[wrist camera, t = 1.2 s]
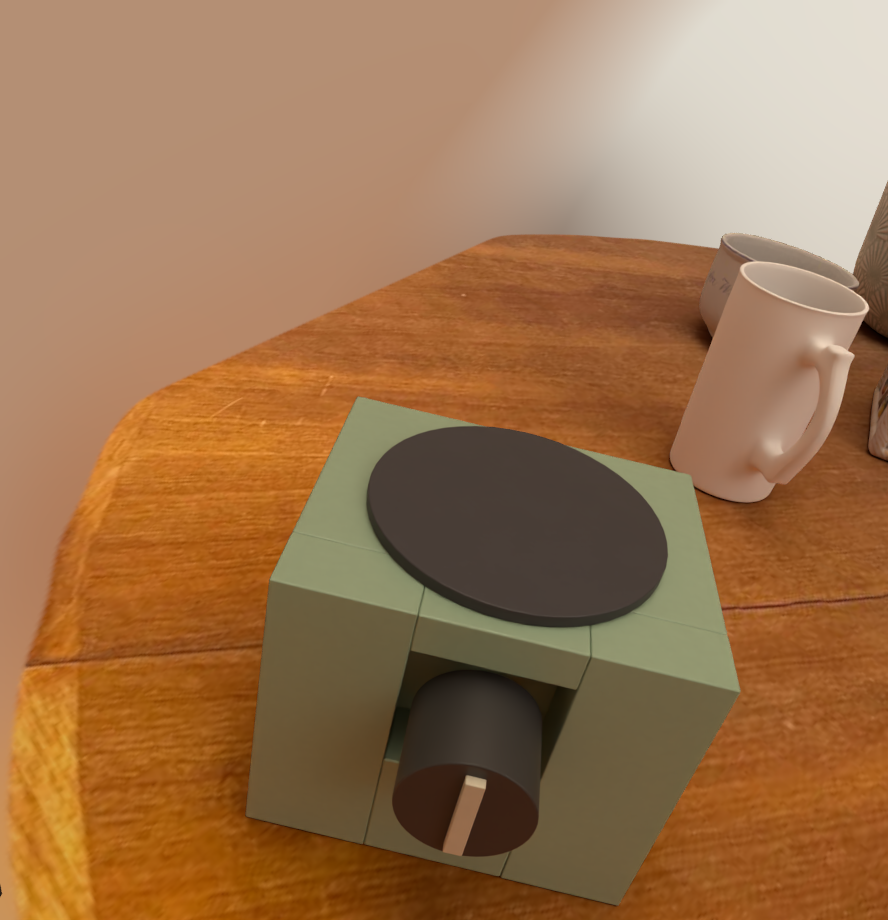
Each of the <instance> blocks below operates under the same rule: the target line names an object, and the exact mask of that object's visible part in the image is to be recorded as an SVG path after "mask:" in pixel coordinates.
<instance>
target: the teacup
mask: <svg viewBox="0 0 888 920" xmlns="http://www.w3.org/2000/svg"><path fill="white" fill-rule="evenodd" d="M755 261H762V262H772V263H779V264H784V265H788V266H792V267H796V268H800V269H803V270H807V271H810V272H813V273H816V274H818V275H821V276H824V277H826V278H829V279H831V280H833V281H835V282H837V283H840V284H842V285H844V286H845V287H847V288H849V289H851V290H852V291H855V290H856V289H857V288H858V287H859V281H858V280H857V278H856V277H855V276H854V275H852V274H851V273H850V272H848V271H847V270H845V269H844V268H842V267H840V266H838V265H837V264H834V263H832V262H830V261H828V260H825V259H824V258H822V257H819V256H817V255H814V254H811V253H809V252H807V251H804V250H802V249H799V248H796V247H793V246H790V245H787V244H784V243H781V242H777V241H774V240H771V239H766V238H762V237H759V236H755V235H748V234H741V233H730V234H725V235H724V236H722V238H721V245H720V248H719V250H718V252H717V254H716V257H715V259H714V261H713V264H712V266H711V269H710V271H709V274H708V276H707V279H706V281H705V284H704V287H703V290H702V293H701V297H700V313H701V316H702V318H703V320H704V322H705V323H706V325H707V326H708V331H709V333H710V335H711V336H712V337H714V334H715V331H716V329H717V326H718V324H719V321H720V318H721V316H722V313H723V310H724V308H725V305H726V302H727V300H728V297H729V295H730V293H731V290H732V288H733V286H734V283H735V281H736V278H737V276H738V273H739V270H740V267H741V265H743V264H745V263H748V262H755Z"/></svg>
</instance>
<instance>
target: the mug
mask: <svg viewBox="0 0 888 920" xmlns="http://www.w3.org/2000/svg"><path fill="white" fill-rule="evenodd" d="M868 311H869V306H868V304H867V302H866V301H865V300H864V299H863V298H862V297H861V296H860V295H858V294H857V293H855V292H854V291H852V290H851V289H849V288H847V287H845V286H844V285H842V284H840V283H837V282H835V281H833V280H831V279H829V278H826V277H824V276H821V275H818V274H816V273H813V272H810V271H807V270H803V269H800V268H796V267H792V266H788V265H784V264H779V263H772V262H762V261H755V262H748V263H745V264H743V265H741V267H740V270H739V273H738V276H737V278H736V281H735V283H734V286H733V288H732V290H731V293H730V295H729V297H728V300H727V302H726V305H725V308H724V310H723V313H722V316H721V318H720V321H719V324H718V326H717V329H716V331H715V334H714V337H713V339H712V342H711V345H710V347H709V350H708V353H707V355H706V358H705V361H704V363H703V366H702V369H701V371H700V374H699V376H698V379H697V382H696V384H695V387H694V390H693V392H692V395H691V397H690V400H689V403H688V405H687V408H686V410H685V413H684V415H683V418H682V421H681V424H680V427H679V430H678V432H677V435H676V438H675V440H674V443H673V446H672V448H671V451H670V461H671V464H672V466H673V467H674V469H675V470H676V471H677V472H680V473H685V474H689V475H691V477H692V481H693V486H695V487H696V488H698V489H700V490H702V491H704V492H706V493H708V494H711V495H713V496H716V497H719V498H722V499H726V500H730V501H736V502H756V501H759V500H762V499H764V498H766V497H767V496H768V495H769V494H770V492H771V491H772V489H773V487H774V485H775V484H776V483H777V484H787V483H788V482H789V481H790V480H791V479H792V478H793V477H794V476H795V475H796V474H797V473H798V472H799V471H800V470H801V469H802V468H803V467H804V466H805V465H806V464H807V463H808V462H809V461H810V460H811V459H812V458H813V456H814V455H815V454H816V453H817V451H818V450H819V449H820V447H821V446H822V444H823V443H824V441H825V440H826V438H827V436H828V434H829V433H830V431H831V429H832V426H833V424H834V422H835V419H836V417H837V414H838V411H839V408H840V405H841V402H842V398H843V394H844V390H845V385H846V381H847V376H848V371H849V367H850V364H851V362H852V360H853V359H854V354H852V353H850V352H848V349H849V347H850V345H851V343H852V341H853V339H854V338H855V336H856V334H857V332H858V329H859V327H860V325H861V323H862V321H863V319H864V317H865V315H866V313H867V312H868ZM815 410H816V411H815ZM814 412H815V414H814ZM813 414H814V416H813ZM812 416H813V418H812ZM811 418H812V420H811V422H810V424H809V426H808V428H807V429H806V427H807V425H808V423H809V421H810V419H811ZM805 429H806V431H805ZM804 431H805V432H804ZM803 432H804V434H803ZM802 434H803V435H802Z"/></svg>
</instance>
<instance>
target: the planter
mask: <svg viewBox="0 0 888 920" xmlns="http://www.w3.org/2000/svg"><path fill="white" fill-rule="evenodd" d="M853 275H854V276H855V277H856V278H857V280H858V281H859V287H858V288H857V289H856V290H855V291H854V292H855V293H857V294H858V295H860V296H861V297H862V298H863V299H864V300H865V301H866V302H867V304H868V306H869V311H868V312H867V313H866V315H865V317H864V319H863V320H864V321H865V322H866V323H867V324H868V325H869V326H870V327H871V328H873V329H874V330H875V331H877V332H878V333H880V334H881V335H883V336H884V337H886V338H888V182H887V184H886V187H885V189H884V192H883V195H882V197H881V200H880V202H879V205H878V207H877V210H876V212H875V215H874V217H873V220H872V222H871V225H870V228H869V230H868V232H867V235H866V238H865V240H864V242H863V245H862V247H861V250H860V252H859V255H858V258H857V261H856V264H855V268H854V273H853Z"/></svg>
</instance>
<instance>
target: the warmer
mask: <svg viewBox="0 0 888 920" xmlns="http://www.w3.org/2000/svg"><path fill="white" fill-rule="evenodd" d="M455 670H482V671H487V672H492V673H495V674H499V675H502V676H504V677H507V678H509V679H511V680H513V681H514V682H516V683H518V684H519V685H521V686H522V687H523V688H524V689H526V690H527V691H528V692H529V693H530V694H531V695H532V697H533V698H534V699H535V701H536V702H537V704H538V706H539V708H540V711H541V714H542V746H541V773H540V799H539V820H538V825H537V828H536V830H535V832H534V833H533V835H532V836H531V837H530V839H529V840H528V841H527V842H525V843H524V844H523V845H521V846H520V847H518V848H516V849H514V850H512V851H509V852H506V853H503V854H499V855H494V856H486V857H469V856H458V855H454V854H449V853H445V852H443V851H440V850H437V849H434V848H432V847H430V846H428V845H426V844H424V843H422V842H420V841H419V840H417V839H416V838H414V837H413V836H411V835H410V834H409V833H408V832H407V831H406V830H405V829H404V828H403V827H402V826H401V824H400V823H399V821H398V820H397V818H396V816H395V814H394V811H393V807H392V795H393V790H394V785H395V781H396V776H397V771H398V766H399V762H400V757H401V752H402V748H403V743H404V738H405V733H406V729H407V724H408V719H409V715H410V710H411V705H412V701H413V698H414V696H415V694H416V693H417V691H418V690H419V689H420V688H421V686H422V685H424V684H425V683H426V682H427V681H429V680H430V679H432V678H434V677H436V676H438V675H440V674H443V673H446V672H450V671H455ZM739 694H740V687H739V682H738V678H737V674H736V669H735V665H734V660H733V656H732V652H731V647H730V643H729V638H728V636H727V631H726V627H725V623H724V618H723V614H722V609H721V605H720V600H719V596H718V592H717V587H716V583H715V578H714V574H713V570H712V565H711V561H710V556H709V552H708V547H707V543H706V539H705V534H704V530H703V525H702V521H701V517H700V512H699V508H698V503H697V499H696V494H695V490H694V486H693V481H692V477H691V475H689V474H685V473H680V472H676V471H672V470H668V469H664V468H659V467H655V466H651V465H647V464H642V463H638V462H634V461H630V460H625V459H621V458H617V457H613V456H608V455H604V454H600V453H596V452H592V451H587V450H583V449H579V448H575V447H570V446H566V445H564V444H561V443H559V442H556V441H553V440H550V439H547V438H544V437H540V436H537V435H533V434H529V433H525V432H520V431H515V430H510V429H503V428H496V427H486V426H481V425H477V424H473V423H469V422H464V421H460V420H456V419H452V418H447V417H443V416H439V415H435V414H431V413H426V412H422V411H418V410H414V409H409V408H405V407H401V406H397V405H392V404H388V403H384V402H380V401H375V400H371V399H367V398H363V397H357V398H356V400H355V402H354V404H353V407H352V409H351V411H350V413H349V415H348V417H347V419H346V421H345V423H344V425H343V427H342V430H341V432H340V434H339V436H338V438H337V440H336V442H335V444H334V446H333V448H332V450H331V453H330V455H329V457H328V459H327V461H326V463H325V465H324V467H323V469H322V471H321V473H320V476H319V478H318V480H317V482H316V484H315V486H314V488H313V490H312V492H311V494H310V496H309V499H308V501H307V503H306V505H305V507H304V509H303V511H302V513H301V515H300V517H299V519H298V521H297V524H296V526H295V528H294V530H293V532H292V534H291V536H290V538H289V540H288V542H287V544H286V546H285V548H284V550H283V552H282V554H281V556H280V558H279V561H278V563H277V565H276V567H275V569H274V571H273V573H272V575H271V577H270V579H269V588H268V598H267V608H266V618H265V627H264V637H263V647H262V657H261V667H260V676H259V686H258V696H257V706H256V716H255V725H254V735H253V745H252V755H251V765H250V774H249V784H248V794H247V804H246V813H245V816H246V817H250V818H255V819H259V820H263V821H267V822H271V823H275V824H280V825H284V826H288V827H292V828H296V829H300V830H304V831H309V832H313V833H317V834H321V835H325V836H329V837H334V838H338V839H342V840H346V841H350V842H354V843H359V844H363V842H364V844H366V845H369V846H373V847H377V848H382V849H386V850H390V851H394V852H398V853H402V854H406V855H411V856H415V857H419V858H423V859H427V860H431V861H436V862H440V863H444V864H448V865H452V866H456V867H461V868H465V869H469V870H473V871H477V872H481V873H485V874H490V875H494V876H501V878H504V879H508V880H513V881H517V882H521V883H525V884H529V885H533V886H537V887H542V888H546V889H550V890H554V891H558V892H562V893H567V894H571V895H575V896H579V897H583V898H587V899H592V900H596V901H600V902H604V903H608V904H612V905H617V906H618V905H619V904H620V902H621V900H622V898H623V897H624V895H625V893H626V891H627V890H628V888H629V886H630V884H631V883H632V881H633V879H634V877H635V876H636V874H637V872H638V870H639V869H640V867H641V865H642V863H643V862H644V860H645V858H646V856H647V855H648V853H649V851H650V849H651V848H652V846H653V844H654V842H655V841H656V839H657V837H658V835H659V834H660V832H661V830H662V828H663V827H664V825H665V823H666V821H667V820H668V818H669V816H670V814H671V813H672V811H673V809H674V807H675V806H676V804H677V802H678V800H679V799H680V797H681V795H682V793H683V792H684V790H685V788H686V786H687V785H688V783H689V781H690V779H691V778H692V776H693V774H694V772H695V771H696V769H697V767H698V765H699V764H700V762H701V760H702V758H703V757H704V755H705V753H706V751H707V750H708V748H709V746H710V744H711V743H712V741H713V739H714V737H715V736H716V734H717V732H718V730H719V729H720V727H721V725H722V723H723V722H724V720H725V718H726V716H727V715H728V713H729V711H730V709H731V708H732V706H733V704H734V702H735V701H736V699H737V697H738V695H739Z"/></svg>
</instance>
